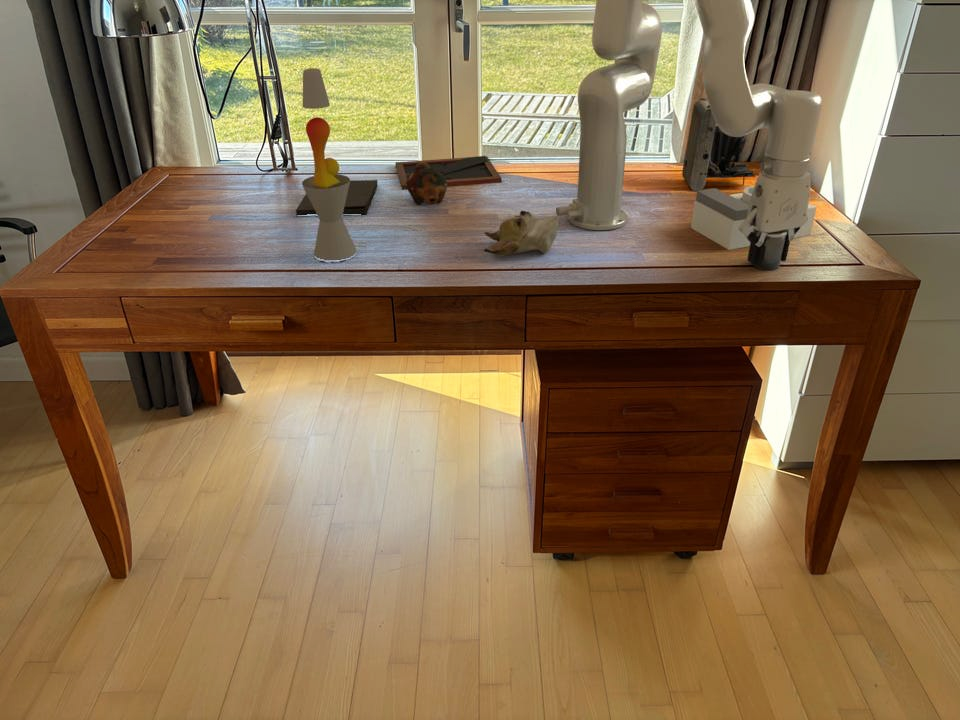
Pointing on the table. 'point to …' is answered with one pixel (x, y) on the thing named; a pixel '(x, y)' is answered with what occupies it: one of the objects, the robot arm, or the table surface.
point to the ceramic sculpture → (523, 234)
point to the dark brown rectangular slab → (348, 198)
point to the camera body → (730, 217)
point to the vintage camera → (710, 150)
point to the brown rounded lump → (426, 185)
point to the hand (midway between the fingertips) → (766, 260)
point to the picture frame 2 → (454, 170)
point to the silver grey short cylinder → (772, 250)
